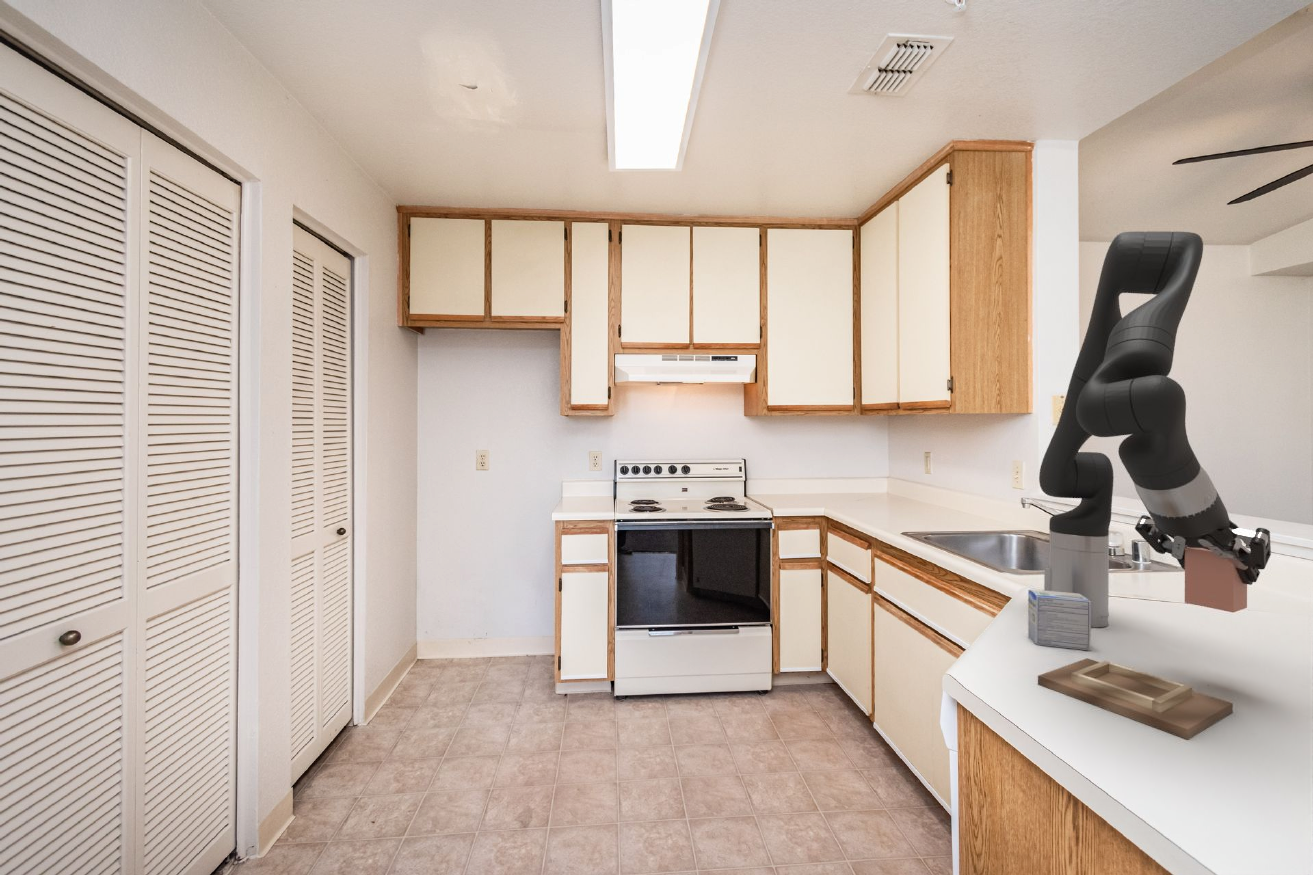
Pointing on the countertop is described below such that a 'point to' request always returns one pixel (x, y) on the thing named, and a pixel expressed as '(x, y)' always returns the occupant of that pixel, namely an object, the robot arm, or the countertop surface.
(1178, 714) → the socket plate
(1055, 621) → the medicine box
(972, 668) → the countertop surface
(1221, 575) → the salmon pink rectangular block
